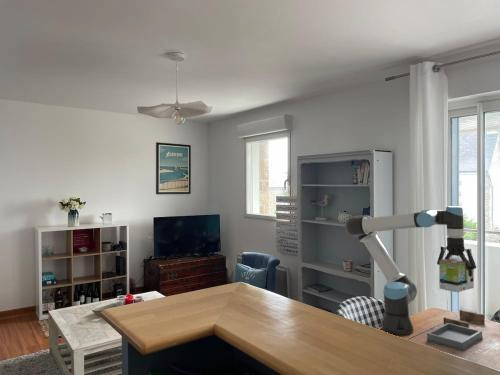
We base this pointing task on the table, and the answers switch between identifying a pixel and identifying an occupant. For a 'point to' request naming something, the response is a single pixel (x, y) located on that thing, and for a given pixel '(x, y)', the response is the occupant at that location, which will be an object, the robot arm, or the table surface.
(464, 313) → the walnut holder
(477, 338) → the charcoal tray
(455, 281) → the tea box
